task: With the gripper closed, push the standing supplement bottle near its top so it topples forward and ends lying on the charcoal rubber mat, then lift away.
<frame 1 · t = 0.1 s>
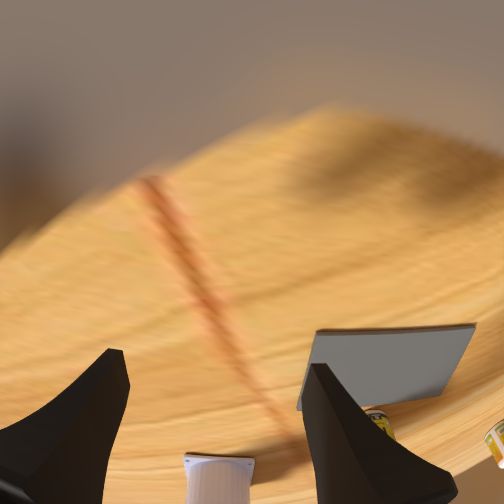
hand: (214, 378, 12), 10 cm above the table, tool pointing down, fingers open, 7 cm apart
supplement bottle: (364, 420, 29), on the table
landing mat: (390, 369, 25), on the table
supplement bottle 2: (496, 428, 35), on the table
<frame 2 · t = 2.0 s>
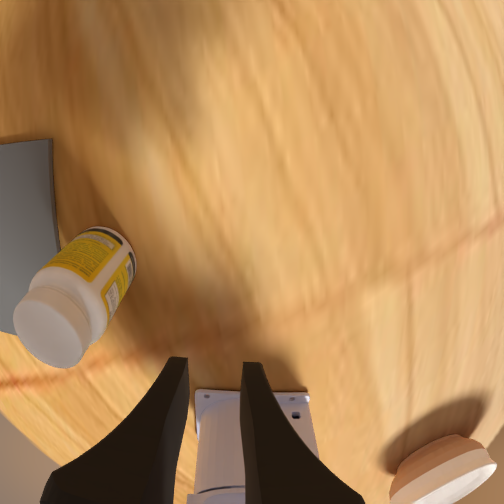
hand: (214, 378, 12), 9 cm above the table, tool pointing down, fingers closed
supplement bottle: (106, 257, 20), on the table
bowl: (429, 455, 34), on the table
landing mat: (15, 251, 19), on the table
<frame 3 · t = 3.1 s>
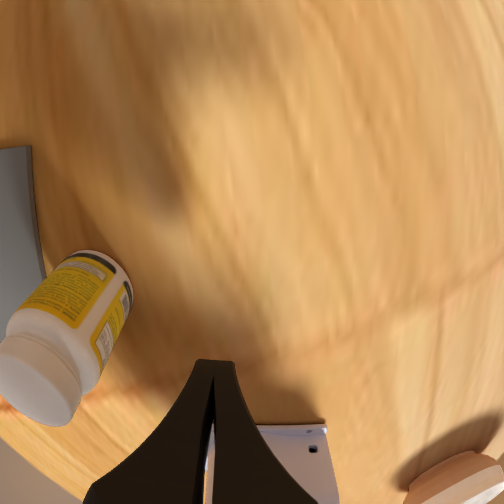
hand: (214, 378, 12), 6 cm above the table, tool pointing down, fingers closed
supplement bottle: (97, 285, 17), on the table
bowl: (442, 471, 31), on the table
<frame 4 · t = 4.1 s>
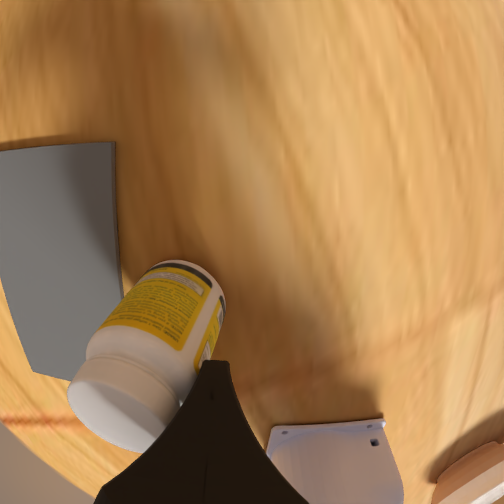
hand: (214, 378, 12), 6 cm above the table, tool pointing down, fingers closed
supplement bottle: (184, 297, 17), on the table, touching gripper
bowl: (467, 462, 31), on the table
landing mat: (56, 283, 16), on the table
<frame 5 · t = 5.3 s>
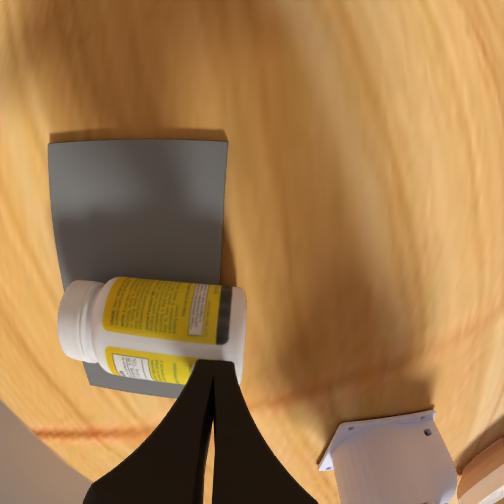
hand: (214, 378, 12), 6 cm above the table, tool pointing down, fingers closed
supplement bottle: (247, 339, 15), point 3 cm above the table, touching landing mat
bowl: (489, 453, 31), on the table
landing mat: (137, 291, 17), on the table
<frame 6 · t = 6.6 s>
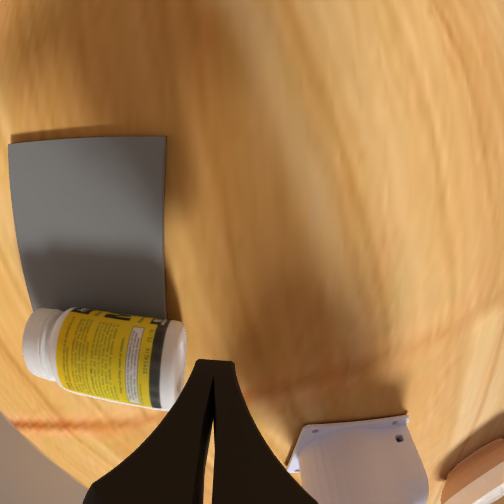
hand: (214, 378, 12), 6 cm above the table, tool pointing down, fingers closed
supplement bottle: (185, 367, 15), point 3 cm above the table, touching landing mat
bowl: (475, 459, 31), on the table
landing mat: (89, 284, 16), on the table
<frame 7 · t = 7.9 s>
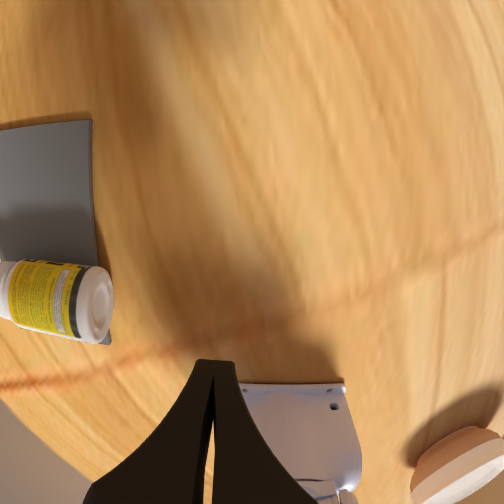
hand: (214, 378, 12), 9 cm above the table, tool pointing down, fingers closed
supplement bottle: (105, 306, 18), point 3 cm above the table, touching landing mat
bowl: (448, 447, 34), on the table
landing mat: (42, 240, 19), on the table
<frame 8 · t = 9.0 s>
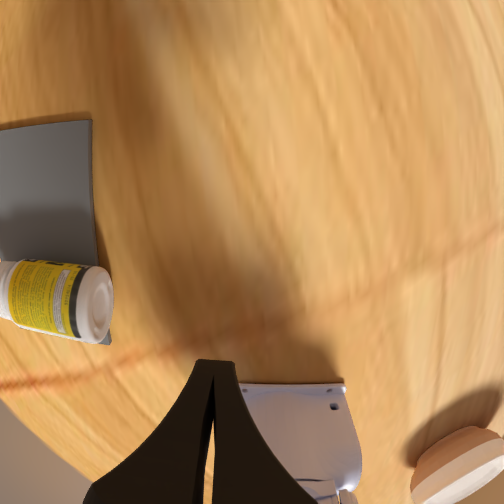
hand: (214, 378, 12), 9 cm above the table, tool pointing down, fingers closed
supplement bottle: (105, 306, 18), point 3 cm above the table, touching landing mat
bowl: (448, 447, 34), on the table
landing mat: (42, 241, 19), on the table
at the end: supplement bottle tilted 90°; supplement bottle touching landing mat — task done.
